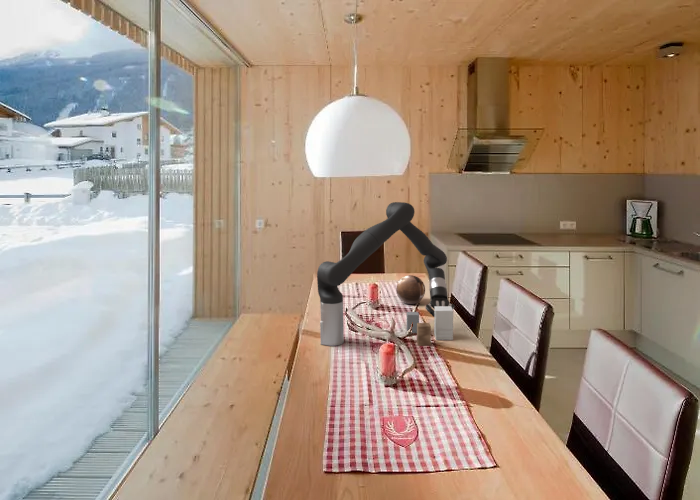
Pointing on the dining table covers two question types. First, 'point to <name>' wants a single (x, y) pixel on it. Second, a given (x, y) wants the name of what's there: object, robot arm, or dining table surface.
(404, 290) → the wooden sphere
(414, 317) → the grey block
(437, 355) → the dining table surface
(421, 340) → the walnut block
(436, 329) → the supplement box
